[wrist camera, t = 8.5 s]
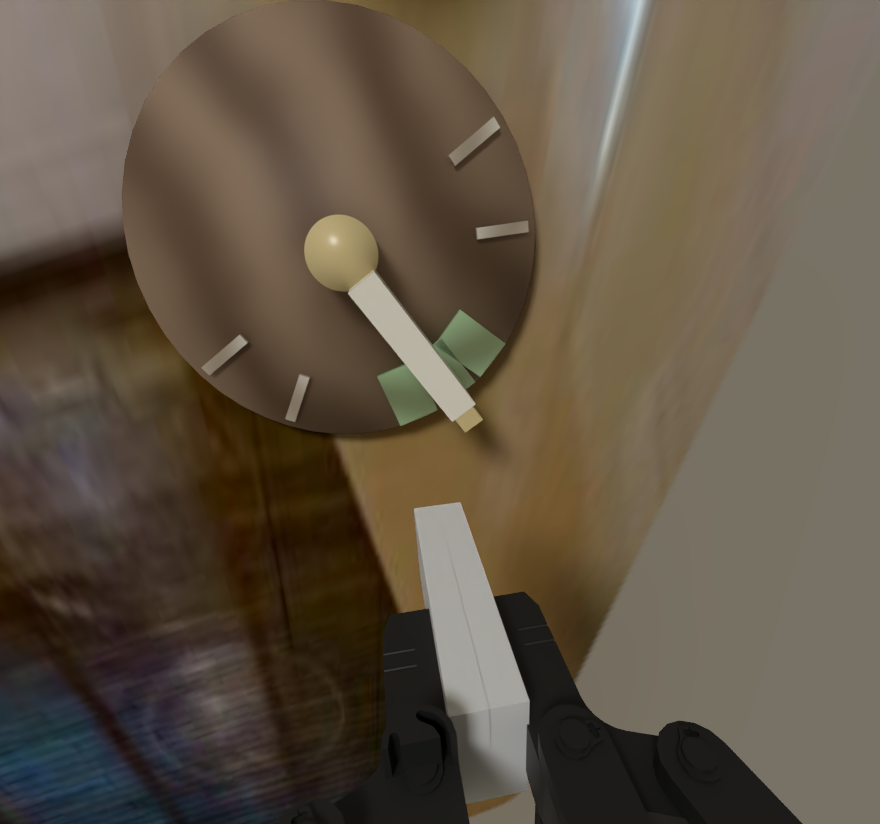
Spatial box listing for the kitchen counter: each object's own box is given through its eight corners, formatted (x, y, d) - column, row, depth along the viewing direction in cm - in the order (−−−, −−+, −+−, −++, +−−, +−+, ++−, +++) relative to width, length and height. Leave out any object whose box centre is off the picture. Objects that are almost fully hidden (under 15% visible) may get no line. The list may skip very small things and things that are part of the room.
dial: (364, -106, 20) (364, -132, 19) (591, 284, 28) (602, 286, 27) (36, 211, 23) (14, 209, 21) (333, 486, 31) (331, 497, 30)
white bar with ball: (296, 245, 24) (280, 246, 20) (347, 202, 23) (343, 194, 19) (436, 415, 29) (447, 445, 24) (481, 381, 28) (500, 406, 24)
